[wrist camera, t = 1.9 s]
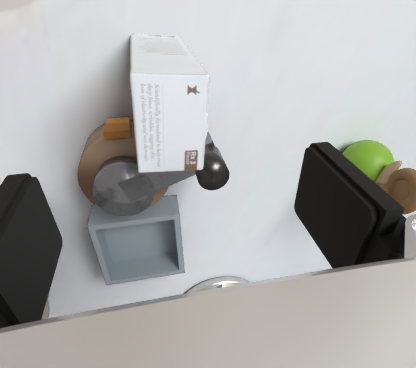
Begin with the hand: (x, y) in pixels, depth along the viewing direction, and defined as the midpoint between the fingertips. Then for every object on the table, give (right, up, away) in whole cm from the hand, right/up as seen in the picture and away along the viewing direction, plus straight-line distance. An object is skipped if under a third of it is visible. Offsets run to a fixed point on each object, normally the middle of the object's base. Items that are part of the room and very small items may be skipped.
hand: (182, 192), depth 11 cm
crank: (-4, +2, +16) cm, 16 cm away
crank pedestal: (-7, +3, +19) cm, 21 cm away
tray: (-7, -5, +25) cm, 27 cm away
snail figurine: (+18, +4, +25) cm, 31 cm away
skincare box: (-3, +10, +16) cm, 19 cm away
